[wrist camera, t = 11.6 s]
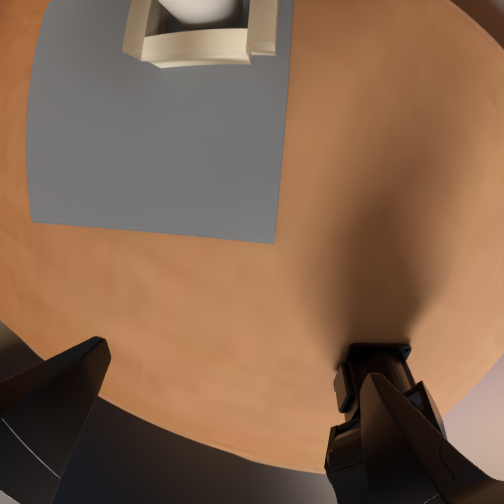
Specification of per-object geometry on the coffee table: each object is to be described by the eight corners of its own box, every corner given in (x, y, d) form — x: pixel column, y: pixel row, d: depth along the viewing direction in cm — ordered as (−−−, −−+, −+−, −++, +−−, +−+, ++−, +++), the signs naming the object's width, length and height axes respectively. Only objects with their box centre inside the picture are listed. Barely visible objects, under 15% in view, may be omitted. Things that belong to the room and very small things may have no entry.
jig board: (294, -42, 12) (294, -48, 11) (274, 239, 20) (273, 244, 19) (53, 5, 13) (47, 3, 12) (38, 219, 22) (31, 222, 21)
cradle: (281, -35, 11) (280, -57, 9) (274, 65, 15) (273, 52, 12) (159, -26, 12) (144, -43, 9) (141, 70, 15) (120, 62, 13)
